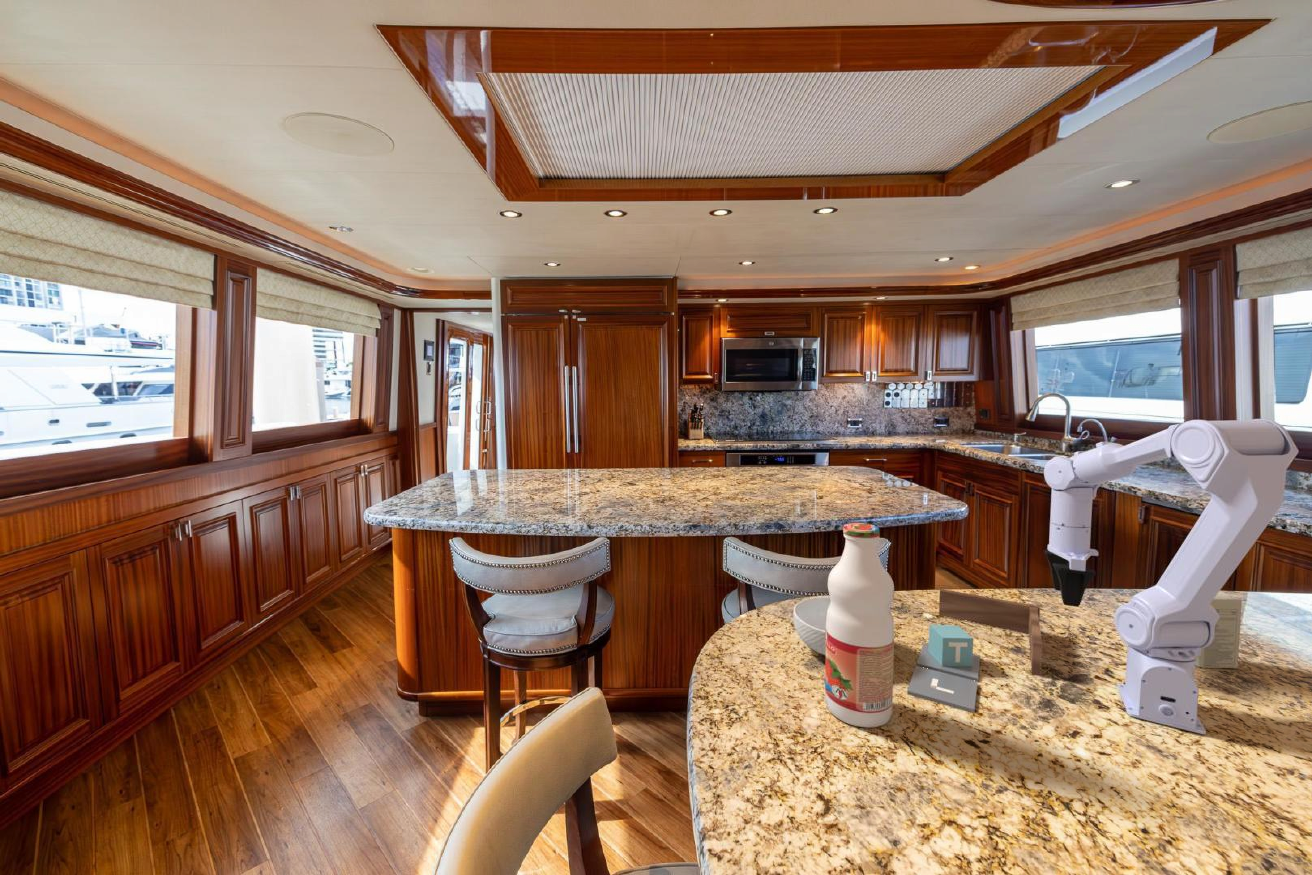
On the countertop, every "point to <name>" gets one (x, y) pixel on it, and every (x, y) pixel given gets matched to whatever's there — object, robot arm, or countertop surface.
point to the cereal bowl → (812, 622)
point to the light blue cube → (950, 645)
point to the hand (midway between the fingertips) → (1066, 597)
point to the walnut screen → (996, 617)
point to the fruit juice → (860, 632)
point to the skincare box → (1223, 634)
